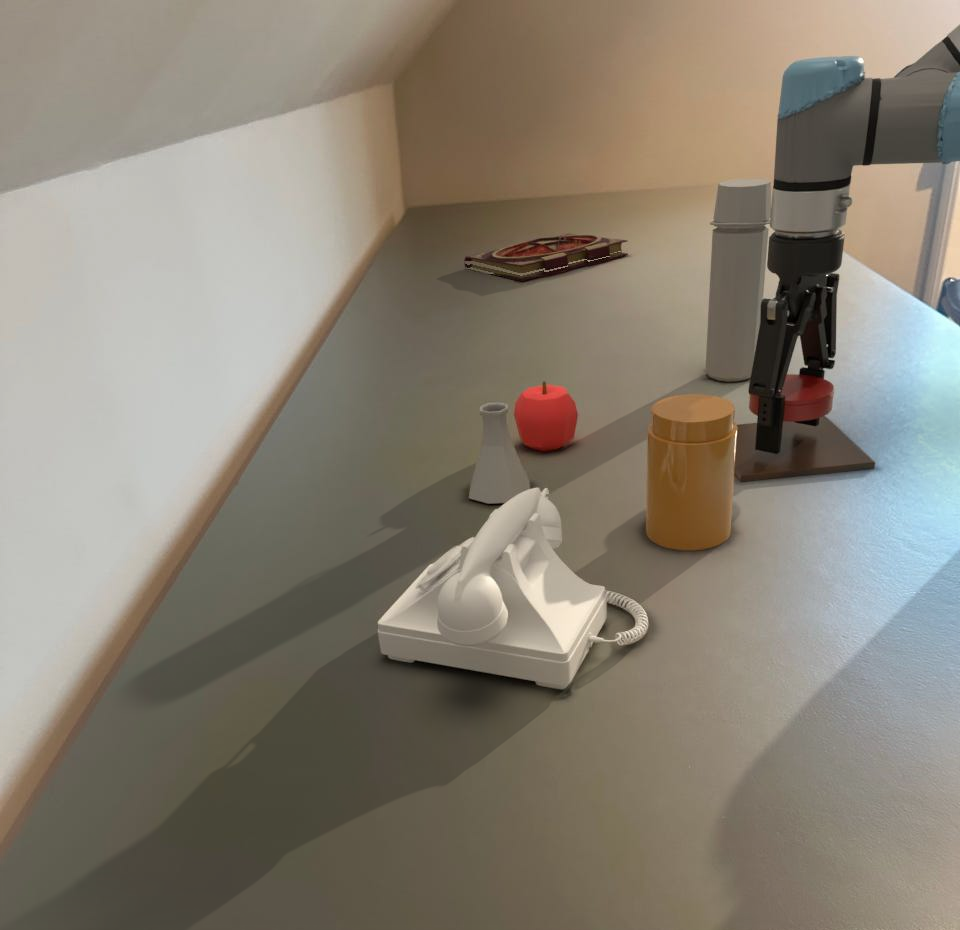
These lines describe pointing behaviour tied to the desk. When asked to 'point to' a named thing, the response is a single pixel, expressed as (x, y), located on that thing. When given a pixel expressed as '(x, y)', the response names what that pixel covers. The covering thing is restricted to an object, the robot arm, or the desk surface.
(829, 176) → the robot arm
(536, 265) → the book
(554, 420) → the apple
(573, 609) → the telephone
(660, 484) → the jar
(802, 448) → the pad
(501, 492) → the flask
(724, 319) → the water bottle
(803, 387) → the lid
